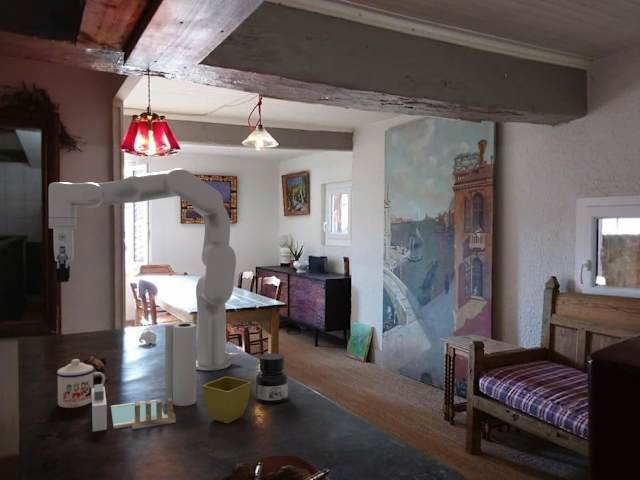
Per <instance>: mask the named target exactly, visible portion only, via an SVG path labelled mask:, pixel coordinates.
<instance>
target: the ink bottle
mask: <svg viewBox="0 0 640 480" xmlns="http://www.w3.org/2000/svg"><path fill="white" fill-rule="evenodd" d="M259 370H260V371H259V372H258V373H257V374H256V376H255V400H256V401H257V402H259V403H261V404H267V405H270V404H271V405H272V404H280V403H281V404H282V403H284V402H285V401H287V400H288V396H289V393H288V392H289V388H288V387H289V386H288V385H289V378H288V374H287V373H286V372H285V371H284V370H285V355H283V354H281V353H265V354H261V355H260V356H259Z"/></svg>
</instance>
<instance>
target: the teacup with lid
mask: <svg viewBox="0 0 640 480" xmlns="http://www.w3.org/2000/svg"><path fill="white" fill-rule="evenodd" d="M81 362H82V361H81V360H80V359H78V358H75V359H72V360H71V363H69V364H67V365H65V366H63V367H61V368H59V369H58V370H57V372H56V376H57V404H58V406H59V407H62V408H66V409H67V408H68V409H71V408H73V409H74V408H79V407H83V406H86V405H90V403H91V404H92V388H94V376H102V378H101V382H100V384H103V386H104V385H105V383H106V381H105V376H104V374H103V373H101V372H97V371H95V367H94V365H93V366H91V365H86V364H84V363H81Z"/></svg>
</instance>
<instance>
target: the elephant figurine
mask: <svg viewBox="0 0 640 480" xmlns="http://www.w3.org/2000/svg"><path fill="white" fill-rule="evenodd" d="M159 335H160V334H159V333H158V334H156V333H155V331H153V330H151V329H150V328H147V327H146V328H144V330H143V331H142V332H141V334H140V336H139V338H138V341H139V343H141V344H142V343H144V341H145V345H147V346H149V345H150V344H151V345H155V344H156V342H157V338H158V337H157V336H159Z"/></svg>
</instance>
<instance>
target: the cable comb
mask: <svg viewBox="0 0 640 480" xmlns="http://www.w3.org/2000/svg"><path fill="white" fill-rule="evenodd" d="M155 400H156V416H151V402H150V400H145V401H146V417H144V418H140V403H139V402H140V401H136V402H134V403H135V419H131V423H132V426H131V429H132V430H135V429H142V428H149V427H154V426H155V427H156V426H161V425H167V424H168V425H169V424H173V423H175V424H176V420H177V417H176V416H177V415H176V414H175V413H174V412H173V411H174V410H173V406H174V404H173V400H172V398H167V402H166V414H165V413H164V415H162V409H163V402H162V399H161V398H157V399H155Z"/></svg>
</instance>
